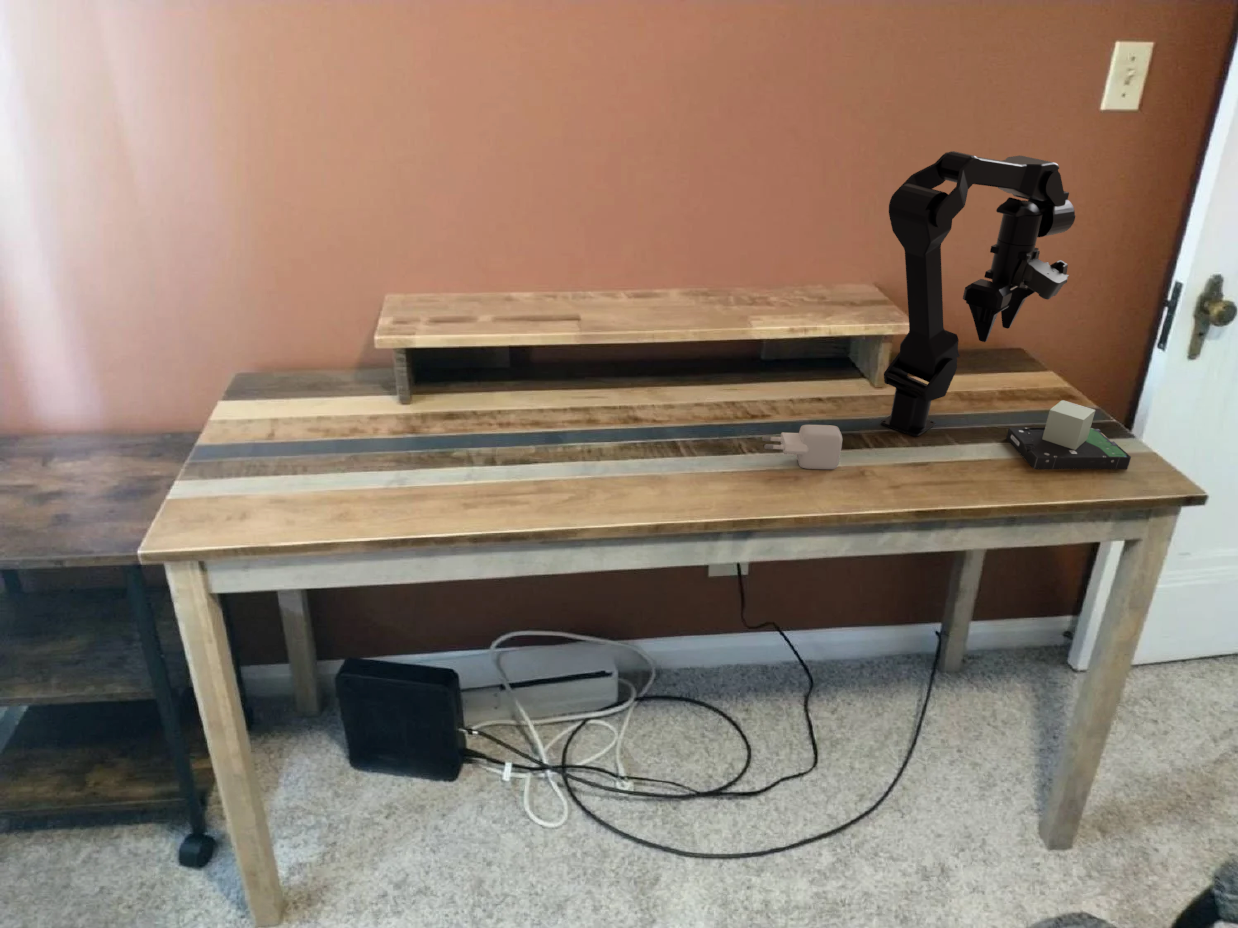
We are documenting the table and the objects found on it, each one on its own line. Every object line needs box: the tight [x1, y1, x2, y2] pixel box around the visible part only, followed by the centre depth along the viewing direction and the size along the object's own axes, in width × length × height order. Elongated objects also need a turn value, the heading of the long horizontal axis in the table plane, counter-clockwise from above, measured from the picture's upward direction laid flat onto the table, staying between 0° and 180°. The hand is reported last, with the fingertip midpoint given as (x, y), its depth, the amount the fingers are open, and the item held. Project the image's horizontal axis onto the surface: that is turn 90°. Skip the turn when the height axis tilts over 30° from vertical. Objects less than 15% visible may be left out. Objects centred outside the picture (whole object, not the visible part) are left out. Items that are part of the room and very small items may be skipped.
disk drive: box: [1005, 426, 1132, 471], centre depth 149 cm, size 10×3×15 cm
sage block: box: [1042, 399, 1096, 450], centre depth 148 cm, size 5×5×5 cm
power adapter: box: [761, 424, 843, 470], centre depth 142 cm, size 11×5×6 cm, turn 90°
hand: (994, 334), depth 160 cm, fingers open, 9 cm apart
